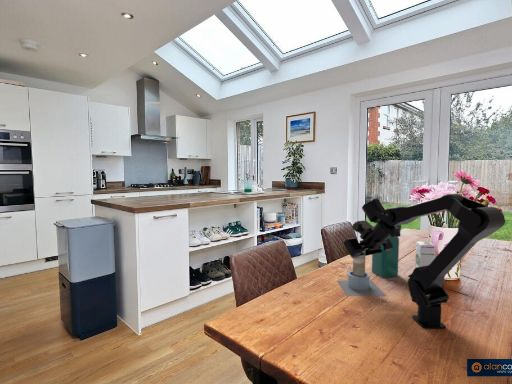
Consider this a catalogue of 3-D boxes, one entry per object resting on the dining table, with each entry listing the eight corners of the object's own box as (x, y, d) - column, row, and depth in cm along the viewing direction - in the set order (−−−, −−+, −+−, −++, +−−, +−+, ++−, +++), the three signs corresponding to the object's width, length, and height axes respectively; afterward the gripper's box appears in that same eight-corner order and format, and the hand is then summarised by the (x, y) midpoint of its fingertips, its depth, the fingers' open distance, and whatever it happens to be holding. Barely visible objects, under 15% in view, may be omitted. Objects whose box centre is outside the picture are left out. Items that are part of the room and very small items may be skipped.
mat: (386, 297, 102) (386, 296, 102) (346, 296, 103) (346, 295, 102) (372, 281, 116) (372, 280, 116) (336, 281, 116) (336, 280, 116)
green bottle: (382, 278, 119) (384, 225, 118) (369, 271, 127) (371, 221, 126) (402, 276, 122) (404, 224, 120) (388, 269, 130) (390, 220, 128)
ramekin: (372, 290, 107) (372, 278, 107) (350, 289, 107) (351, 277, 107) (365, 281, 115) (365, 270, 115) (345, 281, 115) (345, 270, 115)
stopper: (364, 277, 108) (365, 250, 107) (351, 275, 110) (352, 249, 109) (365, 273, 112) (366, 247, 111) (353, 271, 114) (353, 246, 113)
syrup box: (435, 280, 117) (436, 245, 116) (419, 279, 118) (420, 244, 117) (429, 275, 122) (431, 241, 121) (414, 274, 124) (415, 241, 123)
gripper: (387, 213, 109) (364, 236, 120) (347, 216, 102) (327, 240, 113) (404, 238, 103) (379, 260, 113) (363, 243, 95) (340, 266, 106)
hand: (356, 256), depth 112 cm, fingers closed on stopper, 4 cm apart
